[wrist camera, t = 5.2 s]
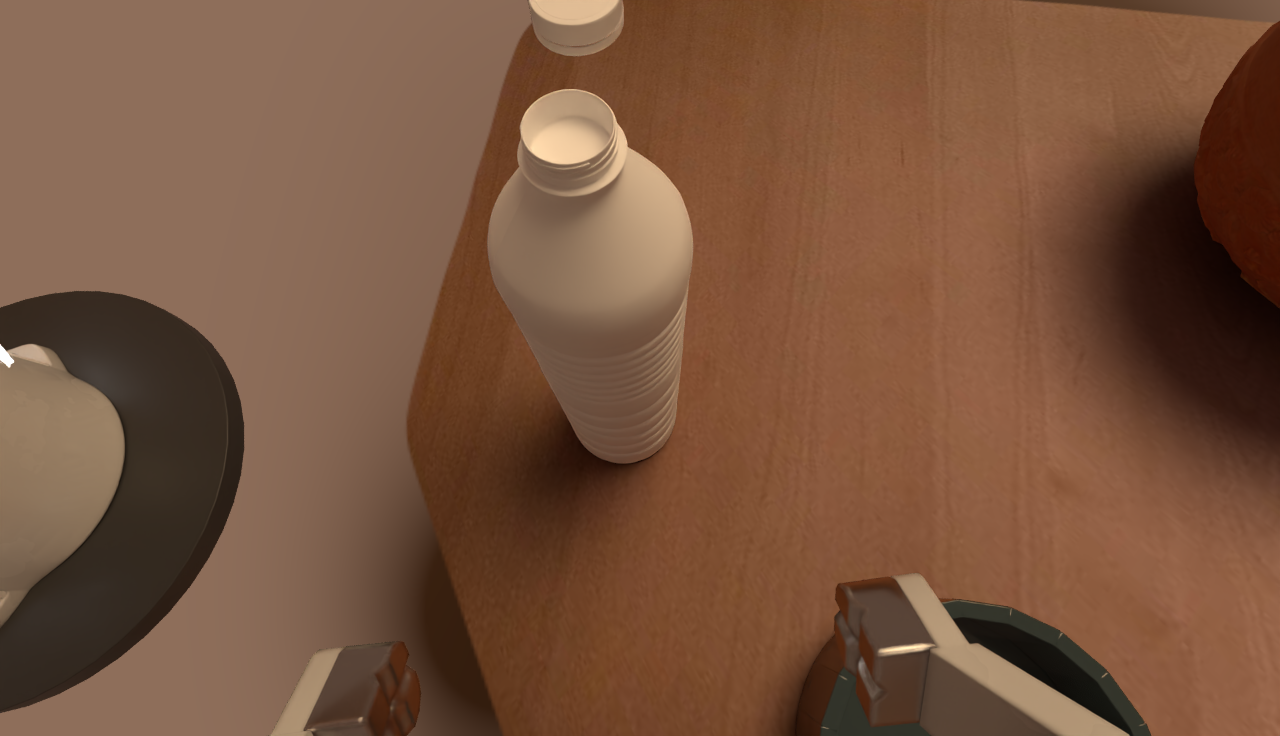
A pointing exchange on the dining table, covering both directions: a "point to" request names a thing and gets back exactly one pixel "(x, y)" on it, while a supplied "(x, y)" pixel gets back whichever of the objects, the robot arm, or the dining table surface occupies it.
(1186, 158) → the dining table surface
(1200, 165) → the bowl
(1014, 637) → the holder
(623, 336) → the water bottle
